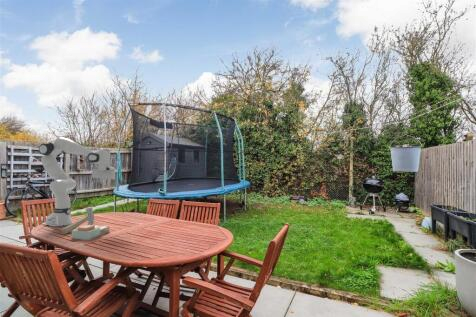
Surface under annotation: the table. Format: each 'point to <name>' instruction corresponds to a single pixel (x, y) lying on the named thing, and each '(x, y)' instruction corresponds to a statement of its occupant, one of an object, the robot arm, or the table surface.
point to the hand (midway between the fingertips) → (102, 184)
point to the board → (102, 229)
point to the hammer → (80, 221)
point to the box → (85, 234)
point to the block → (86, 228)
